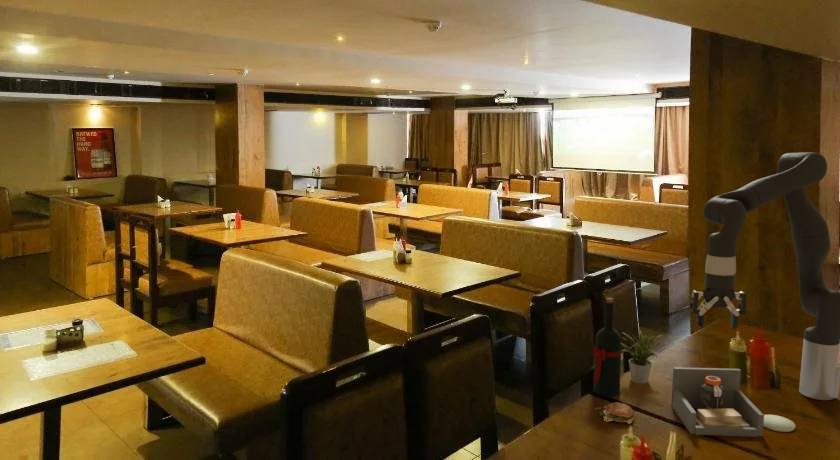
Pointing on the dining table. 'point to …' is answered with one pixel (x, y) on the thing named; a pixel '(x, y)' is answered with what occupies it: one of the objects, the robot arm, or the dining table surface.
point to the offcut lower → (743, 424)
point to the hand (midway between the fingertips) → (716, 327)
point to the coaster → (778, 423)
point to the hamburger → (617, 413)
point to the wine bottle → (607, 357)
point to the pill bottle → (711, 393)
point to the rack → (689, 393)
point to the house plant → (640, 358)
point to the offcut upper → (719, 416)
